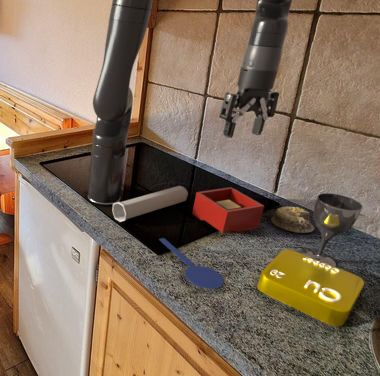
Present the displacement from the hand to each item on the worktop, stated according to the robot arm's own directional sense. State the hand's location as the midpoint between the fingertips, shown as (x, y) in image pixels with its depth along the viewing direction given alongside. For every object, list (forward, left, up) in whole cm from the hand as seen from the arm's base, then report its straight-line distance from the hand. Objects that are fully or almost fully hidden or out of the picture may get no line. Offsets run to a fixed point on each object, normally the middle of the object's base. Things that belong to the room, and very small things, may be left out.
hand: (241, 135), depth 98 cm
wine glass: (+22, +8, -24) cm, 33 cm away
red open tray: (+1, 0, -24) cm, 24 cm away
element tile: (+30, -5, -24) cm, 38 cm away
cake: (+8, +16, -24) cm, 30 cm away
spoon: (+14, -22, -23) cm, 35 cm away
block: (+1, 0, -23) cm, 23 cm away
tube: (-11, -15, -24) cm, 30 cm away
